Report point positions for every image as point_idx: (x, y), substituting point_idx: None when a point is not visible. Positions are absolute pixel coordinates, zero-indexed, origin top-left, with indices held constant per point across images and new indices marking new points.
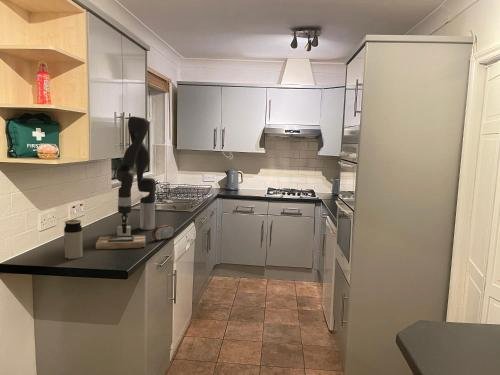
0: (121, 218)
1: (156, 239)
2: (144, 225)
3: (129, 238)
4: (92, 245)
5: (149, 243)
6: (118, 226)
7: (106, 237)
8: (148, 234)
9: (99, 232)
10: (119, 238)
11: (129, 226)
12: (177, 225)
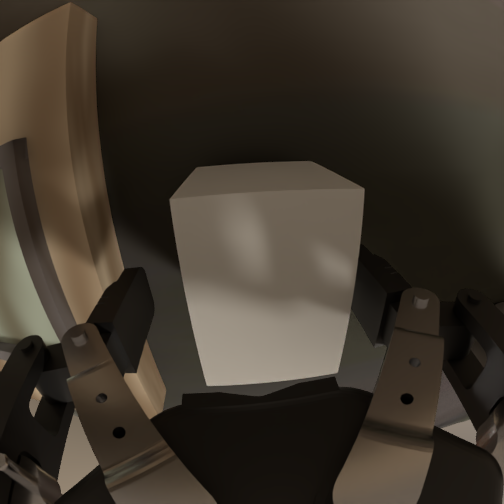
0: (104, 477)
1: None
2: (478, 354)
3: (33, 331)
4: (6, 30)
5: None
6: (302, 204)
7: (22, 94)
8: (343, 385)
9: (462, 5)
10: (5, 250)
11: (281, 375)
12: (453, 418)
